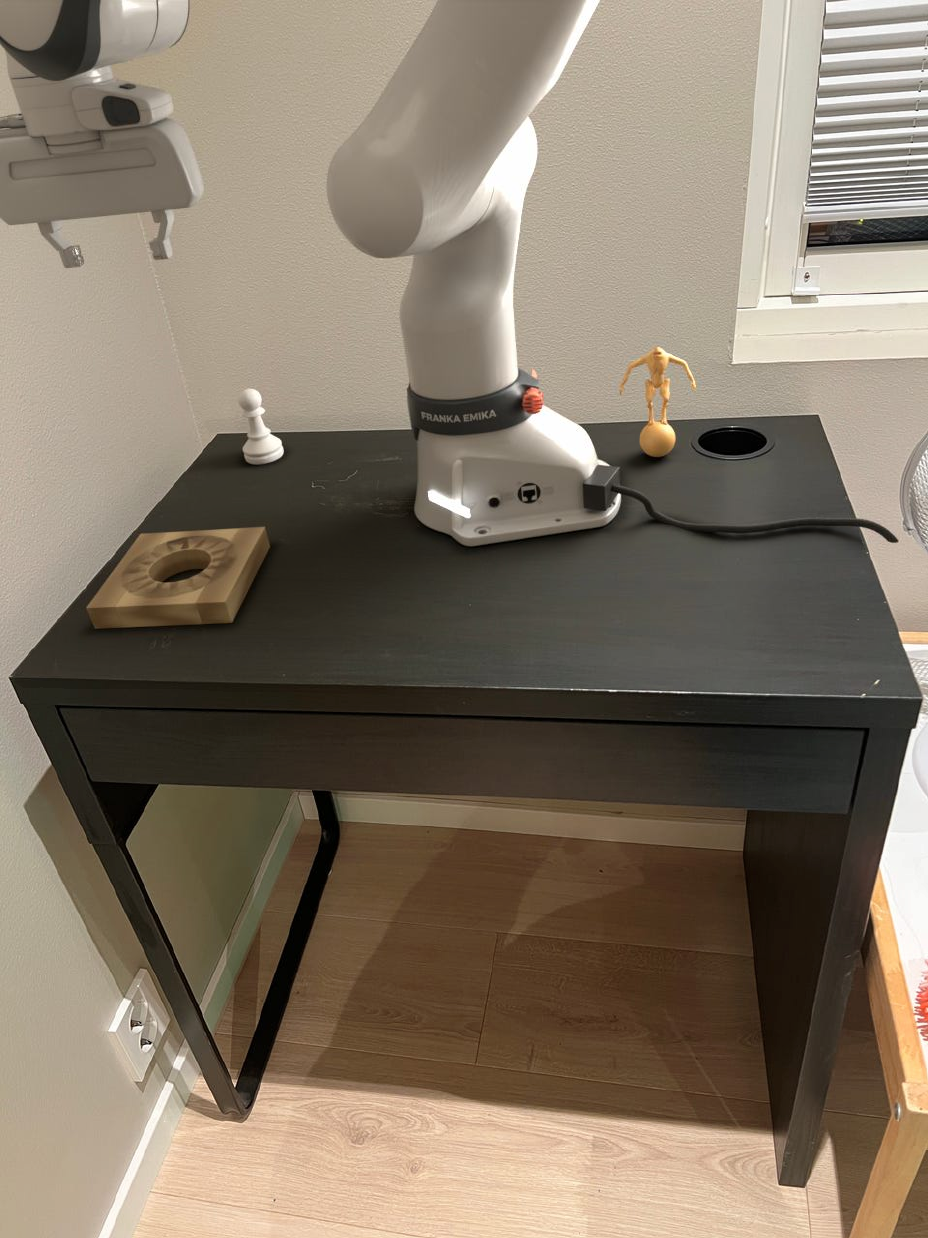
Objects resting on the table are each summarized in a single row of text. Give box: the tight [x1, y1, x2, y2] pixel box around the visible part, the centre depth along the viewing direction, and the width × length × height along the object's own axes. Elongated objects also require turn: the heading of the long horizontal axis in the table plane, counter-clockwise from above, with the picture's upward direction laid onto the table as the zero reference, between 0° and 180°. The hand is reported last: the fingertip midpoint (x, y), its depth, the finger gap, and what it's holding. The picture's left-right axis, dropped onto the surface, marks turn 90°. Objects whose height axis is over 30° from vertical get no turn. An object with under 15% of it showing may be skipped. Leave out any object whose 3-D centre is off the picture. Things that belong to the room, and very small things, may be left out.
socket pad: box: [85, 526, 271, 630], centre depth 94 cm, size 14×14×2 cm
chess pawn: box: [237, 388, 285, 465], centre depth 116 cm, size 5×5×9 cm
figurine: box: [619, 346, 697, 458], centre depth 103 cm, size 8×6×12 cm
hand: (119, 262), depth 93 cm, fingers open, 8 cm apart
